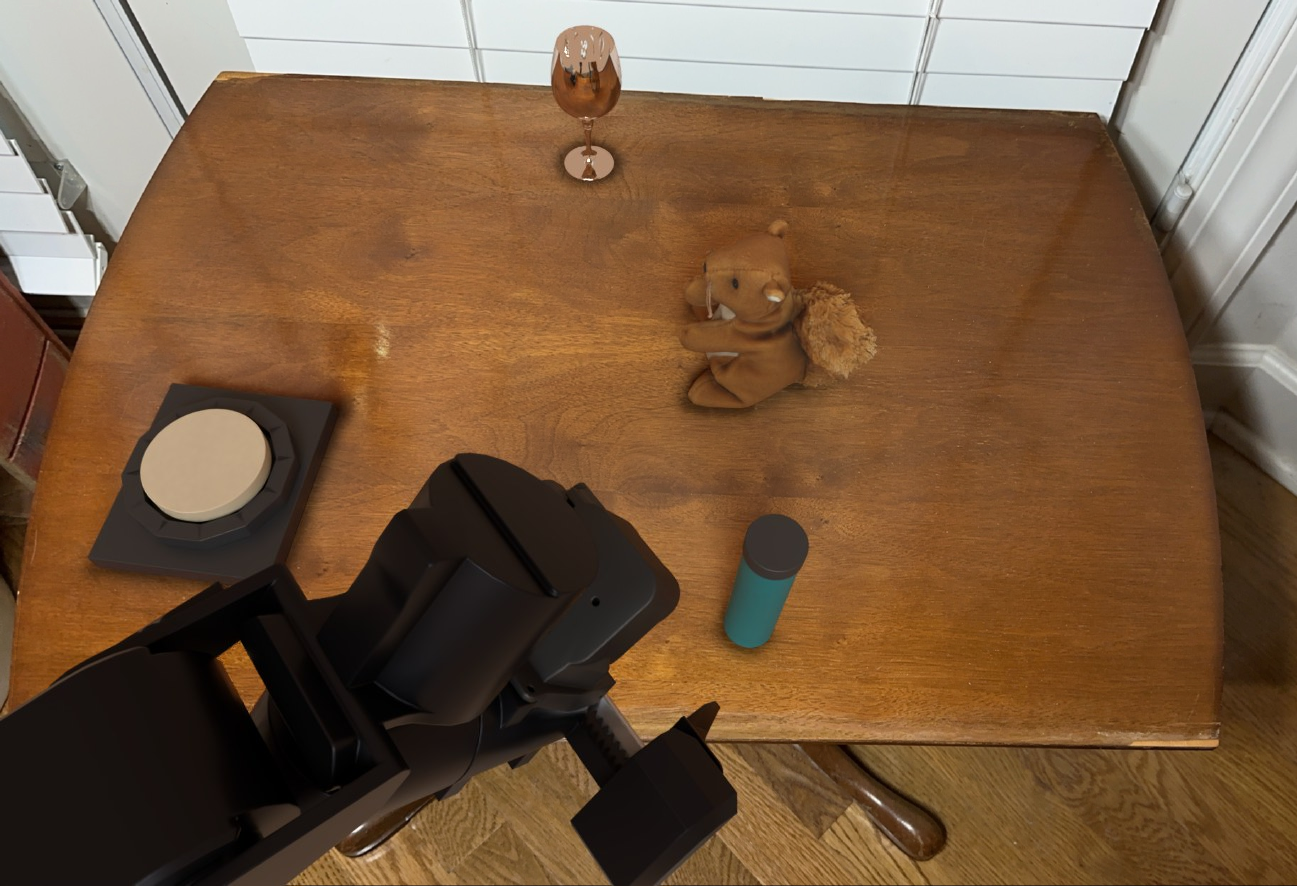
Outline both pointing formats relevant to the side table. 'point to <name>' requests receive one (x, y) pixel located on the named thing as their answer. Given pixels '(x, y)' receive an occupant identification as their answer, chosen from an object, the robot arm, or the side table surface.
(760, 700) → the side table surface
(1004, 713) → the side table surface
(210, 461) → the pad disc
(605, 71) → the wineglass
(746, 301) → the stuffed squirrel
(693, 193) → the side table surface
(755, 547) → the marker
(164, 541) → the button base
